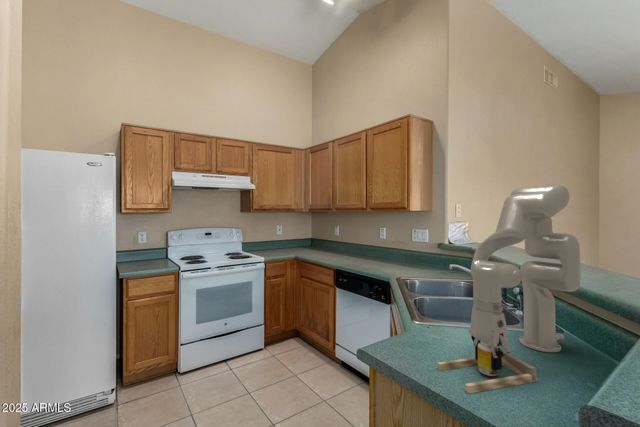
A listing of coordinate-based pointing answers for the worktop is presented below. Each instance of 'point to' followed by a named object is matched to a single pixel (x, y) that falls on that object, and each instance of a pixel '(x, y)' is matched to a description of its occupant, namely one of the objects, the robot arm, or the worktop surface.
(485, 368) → the supplement bottle
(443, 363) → the wooden frame
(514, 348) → the worktop surface
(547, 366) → the worktop surface
